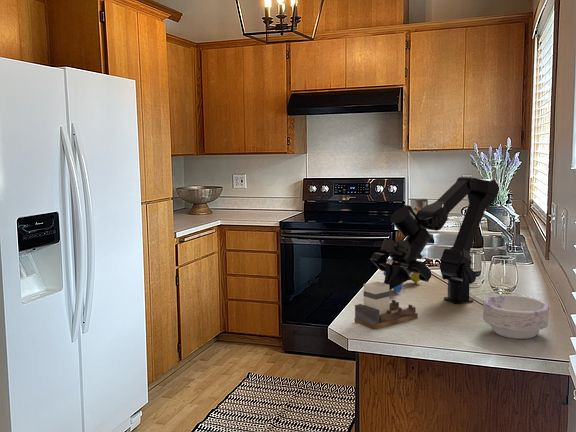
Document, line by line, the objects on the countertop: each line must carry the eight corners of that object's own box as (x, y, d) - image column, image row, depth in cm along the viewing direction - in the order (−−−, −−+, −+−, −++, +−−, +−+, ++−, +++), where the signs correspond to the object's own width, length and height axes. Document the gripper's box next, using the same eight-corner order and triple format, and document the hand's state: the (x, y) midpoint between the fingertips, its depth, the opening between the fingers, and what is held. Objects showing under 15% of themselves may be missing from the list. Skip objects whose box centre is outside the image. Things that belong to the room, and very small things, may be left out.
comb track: (396, 311, 162) (396, 294, 162) (417, 317, 156) (417, 300, 155) (354, 322, 154) (354, 304, 153) (374, 329, 147) (374, 311, 146)
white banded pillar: (377, 313, 156) (377, 281, 155) (389, 317, 152) (389, 284, 151) (363, 316, 153) (363, 284, 152) (375, 320, 149) (375, 287, 148)
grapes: (381, 286, 190) (381, 251, 189) (401, 286, 190) (401, 251, 188) (384, 296, 179) (384, 258, 177) (406, 295, 178) (406, 258, 177)
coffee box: (427, 226, 321) (427, 198, 319) (428, 228, 315) (428, 199, 313) (410, 226, 323) (410, 198, 321) (411, 228, 316) (411, 199, 314)
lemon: (405, 284, 193) (405, 261, 192) (410, 280, 198) (409, 258, 197) (421, 285, 190) (421, 262, 189) (425, 282, 195) (425, 259, 194)
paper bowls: (553, 345, 132) (554, 312, 131) (484, 341, 136) (485, 309, 135) (543, 325, 147) (543, 295, 146) (481, 322, 151) (481, 293, 150)
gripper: (374, 224, 162) (345, 267, 157) (424, 231, 147) (393, 280, 142) (394, 248, 167) (367, 290, 162) (444, 257, 152) (415, 305, 147)
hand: (384, 291), depth 153 cm, fingers closed, pressing on white banded pillar
